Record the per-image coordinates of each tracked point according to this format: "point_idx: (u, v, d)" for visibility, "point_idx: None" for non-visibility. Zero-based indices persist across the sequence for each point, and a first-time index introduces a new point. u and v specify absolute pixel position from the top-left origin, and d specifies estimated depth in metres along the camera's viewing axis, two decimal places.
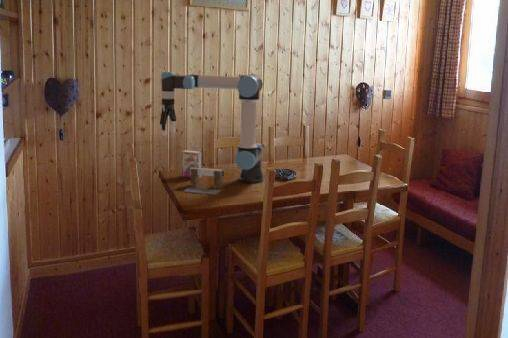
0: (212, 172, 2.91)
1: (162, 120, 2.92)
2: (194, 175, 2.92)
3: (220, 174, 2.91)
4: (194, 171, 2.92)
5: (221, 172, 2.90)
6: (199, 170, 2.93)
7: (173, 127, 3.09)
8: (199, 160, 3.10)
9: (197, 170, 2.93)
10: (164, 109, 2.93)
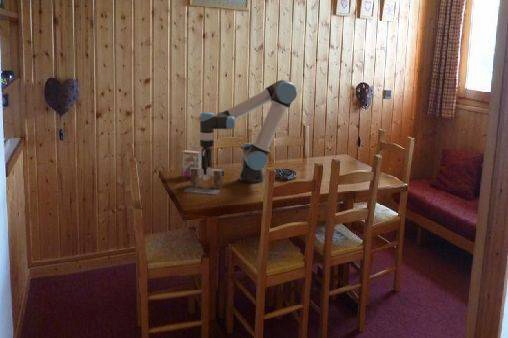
0: (212, 172, 2.91)
1: (204, 165, 2.87)
2: (194, 175, 2.92)
3: (220, 174, 2.91)
4: (194, 171, 2.92)
5: (221, 172, 2.90)
6: (199, 170, 2.93)
7: None
8: (199, 160, 3.10)
9: (197, 170, 2.93)
10: (204, 154, 2.85)
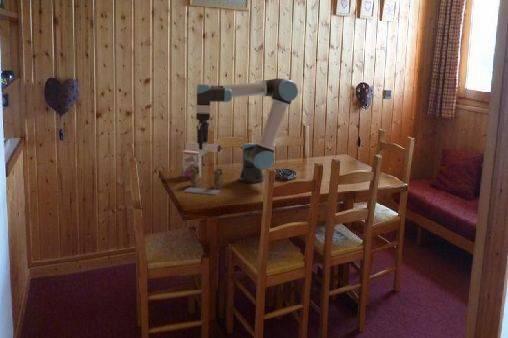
0: (208, 147, 2.79)
1: (199, 139, 2.75)
2: (194, 175, 2.92)
3: (216, 149, 2.78)
4: (194, 171, 2.92)
5: (217, 147, 2.78)
6: (195, 145, 2.81)
7: None
8: (199, 160, 3.10)
9: (192, 145, 2.81)
10: (199, 128, 2.73)
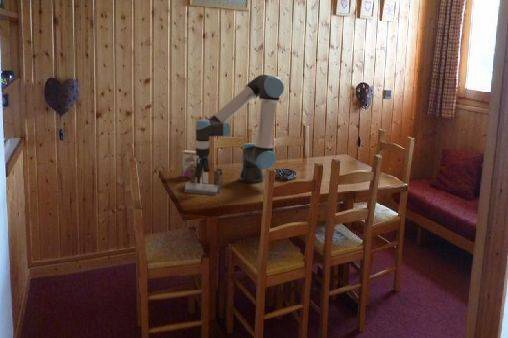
0: (208, 188, 2.82)
1: (197, 173, 2.74)
2: (194, 175, 2.92)
3: (216, 190, 2.81)
4: (194, 171, 2.92)
5: (217, 188, 2.81)
6: (194, 186, 2.84)
7: (206, 178, 2.89)
8: None
9: (192, 186, 2.84)
10: (199, 161, 2.74)
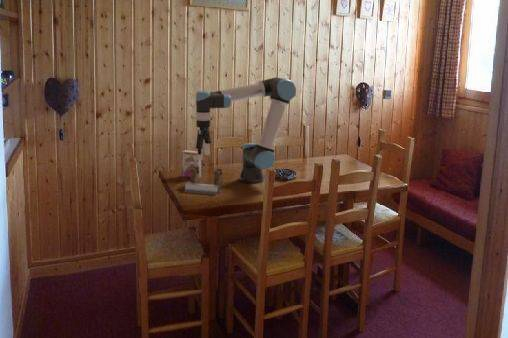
0: (208, 188, 2.82)
1: (198, 144, 2.71)
2: (194, 175, 2.92)
3: (216, 190, 2.81)
4: (194, 171, 2.92)
5: (217, 188, 2.81)
6: (194, 186, 2.84)
7: (208, 150, 2.88)
8: (199, 160, 3.10)
9: (192, 186, 2.84)
10: (200, 132, 2.72)
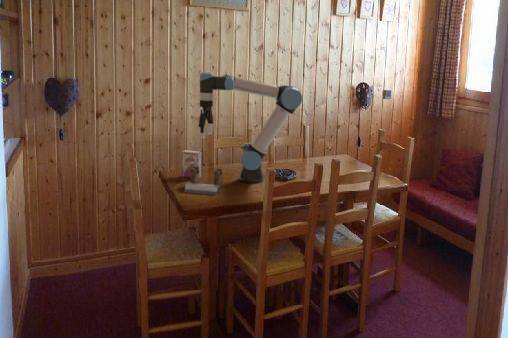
0: (208, 188, 2.82)
1: (201, 122, 2.83)
2: (194, 175, 2.92)
3: (216, 190, 2.81)
4: (194, 171, 2.92)
5: (217, 188, 2.81)
6: (194, 186, 2.84)
7: (210, 130, 2.99)
8: (199, 160, 3.10)
9: (192, 186, 2.84)
10: (203, 111, 2.84)
